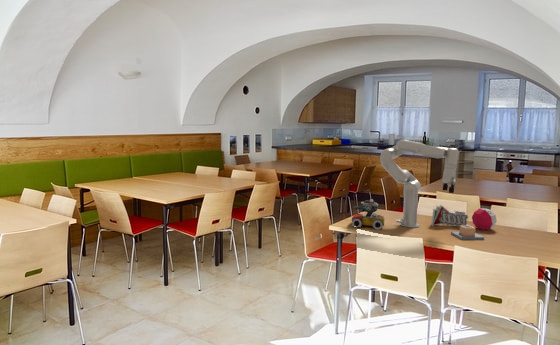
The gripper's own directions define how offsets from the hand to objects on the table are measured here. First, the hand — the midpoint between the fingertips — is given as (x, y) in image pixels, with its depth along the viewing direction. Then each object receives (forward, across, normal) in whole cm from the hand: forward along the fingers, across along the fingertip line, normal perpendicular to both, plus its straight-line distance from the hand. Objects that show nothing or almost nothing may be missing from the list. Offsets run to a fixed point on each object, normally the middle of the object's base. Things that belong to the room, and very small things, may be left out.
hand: (447, 191), depth 289 cm
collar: (+25, +17, +8) cm, 31 cm away
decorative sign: (+27, -13, +9) cm, 32 cm away
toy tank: (+29, -10, -50) cm, 59 cm away
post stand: (+26, +17, +8) cm, 32 cm away
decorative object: (+26, -6, +30) cm, 41 cm away
